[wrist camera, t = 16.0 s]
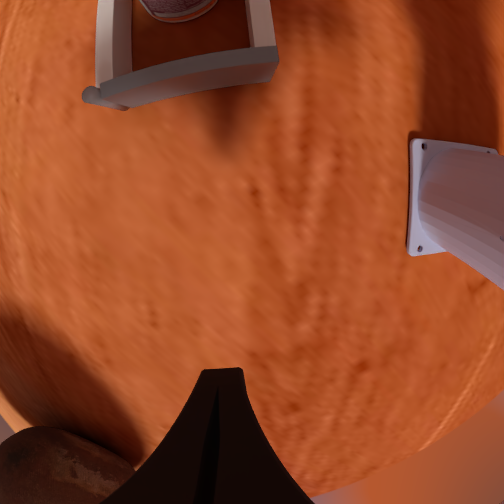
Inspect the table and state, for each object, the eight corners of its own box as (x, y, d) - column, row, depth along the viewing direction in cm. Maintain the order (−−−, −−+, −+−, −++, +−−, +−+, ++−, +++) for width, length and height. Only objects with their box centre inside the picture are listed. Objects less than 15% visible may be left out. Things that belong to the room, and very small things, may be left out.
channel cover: (119, 112, 14) (82, 105, 10) (118, 100, 13) (81, 89, 9) (269, 82, 14) (280, 60, 10) (267, 69, 13) (277, 43, 9)
